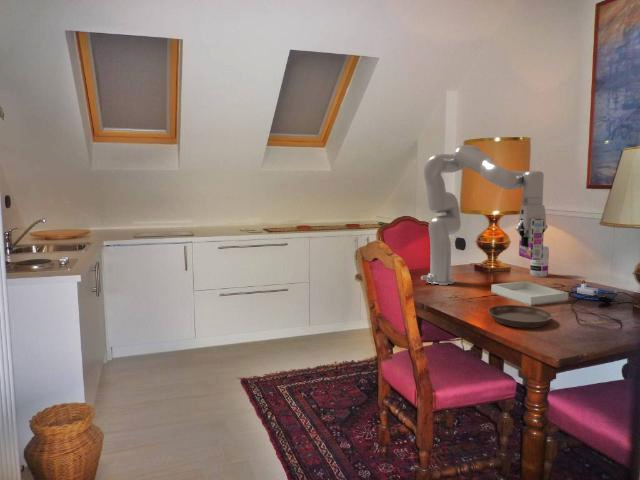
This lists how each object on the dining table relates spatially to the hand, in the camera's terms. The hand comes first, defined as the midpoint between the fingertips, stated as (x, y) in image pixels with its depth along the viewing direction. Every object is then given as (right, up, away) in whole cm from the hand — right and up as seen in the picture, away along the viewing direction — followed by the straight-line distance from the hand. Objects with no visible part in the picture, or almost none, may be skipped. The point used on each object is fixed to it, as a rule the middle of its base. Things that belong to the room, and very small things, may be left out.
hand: (531, 245), depth 208 cm
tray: (0, -21, +2) cm, 21 cm away
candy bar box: (0, -5, +1) cm, 5 cm away
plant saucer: (-17, -27, -30) cm, 43 cm away
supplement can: (+22, -16, +43) cm, 51 cm away
